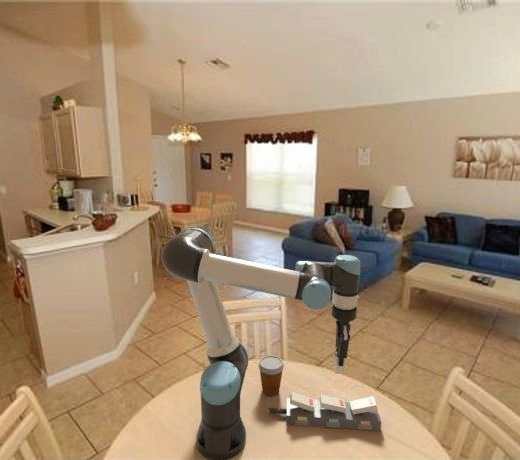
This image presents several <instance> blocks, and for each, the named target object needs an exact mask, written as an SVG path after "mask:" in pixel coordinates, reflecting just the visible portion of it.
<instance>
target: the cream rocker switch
mask: <svg viewBox="0 0 520 460" xmlns="http://www.w3.org/2000/svg"><path fill="white" fill-rule="evenodd" d="M349 402H350V405H351V410H352V413H353V415H354V414H359V413H364V412H369V411H373V410H378V406H377V404H376V400H375V397H374V396H368V397H364V398H363V397H362V398H360V399H359V398H358V399H355V400H350V401H349Z"/></svg>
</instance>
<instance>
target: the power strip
mask: <svg viewBox="0 0 520 460" xmlns="http://www.w3.org/2000/svg"><path fill="white" fill-rule="evenodd" d="M314 404H315V408H314V411H313V412H311V411H309V410H306V409H303V408H300V407H297V406H294V405H291V404H290V397H289V398H288V397H287V398H286V408H276V407H269V409H268V414H276V415H279V414H280V415H286V425H288V426H301V427H317V428H318V427H319V428H330V429H331V428H332V429H347V430H360V431H373V432H374V431H375V432H376V431H377V432H381V431H382V430H381V428H382V419H381V416H380V413H379V411H378V410H373V411H369V412H364V413H359V414H354V415H353V413H352V410H351V405H350V401H345V406H346V410H345V413H343V412H339V411H334V410H330V409H325V408H320V400H319V399H314Z"/></svg>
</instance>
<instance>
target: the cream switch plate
mask: <svg viewBox="0 0 520 460" xmlns="http://www.w3.org/2000/svg"><path fill="white" fill-rule="evenodd" d="M318 400H320V408H325V409H330V410H334V411H339V412H343V413H345V410H346V406H345V402H346V401H345V399H343V398H339V397H333V396H329V395H325V394H319V399H318Z"/></svg>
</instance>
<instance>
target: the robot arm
mask: <svg viewBox="0 0 520 460" xmlns="http://www.w3.org/2000/svg"><path fill="white" fill-rule="evenodd" d="M213 241H214V240H213V239H212V236H211V235H210V234H209V233H208V232H207V231H206V230H204V229H201V228H199V227H189V228H186V229H184V230H181V231H180V232H179V233H178V234H176V235H175V236H174V237H172V238H170V239H168V241H167V242H166V243H165V244H164V246H163V247H162V249H161V257H160V259H161V262H162V265H163V267H164V268H165V270H166V271H167V273H169V274H171V276H173V277H175V278H178V279H181V280H185V281H187V284H188V288H189V290H190V295H192V296H191V297H192V299H193V302H194V305H195V307H196V311H197V314H198V318H199V320H200V323H201V326H202V329H203V333H204V335H205V338H206V341H207V343H208V346H207V347H206V351H205V353H206V356H207V359H208V362H209V365H208V366H207V367H205V368H204V369H203V371H202V373H201V377H200V381H199V392H200V409H201V421H200V424H199V426H198V429H197V432H196V448H197V450H198V452H199V453H200V454H201V455H202V456H203V457H205V458H207V459H208V460H229V459H232V458H234V457H236V456H238V454H240V453H241V452H242V450H243V449H244V447H245V445H246V444H247V432H246V427H245V425H244V422H243V419H242V417H241V393H242V389H243V384H244V380H245V377H246V372H247V370H248V369H247V368H248V366H249V353H248V350H247V349H246V347H245V345H244V344H243V343H241V341H240V339H239V337H237V336H234V334H233V333H234V332H233V330H232V328H231V324H230V321H229V319H228V318H229V317H228V315H227V311H226V308H225V306H224V303H223V300H222V296H221V293H220V289H219V286H218V284H221V285H226V286H230V287H235V288H239V289H240V288H241V289H245V290H250V291H253V292H254V291H255V292H260V293H264V294H268V295H274V296H277V297H284V298H288V299H293V300H297V301H301V302H303V303H304V305H306V307H308V308H310V309H312V310H321V309H324V308H326V307H327V305H329V303H330V302H332V305H331V317H332V318H334V319H335V324H336V325H335V327H336V328H335V344H334V345H335V351H336V353H334V356H335V365H334V372H335V374H339V375H344V374H345V364H346V359H347V358H348V350H349V344H350V340H351V334H350V330H351V324H350V322H352V321H354V320H355V319H357V312H358V311H357V310H358V307H357V306H358V300H359V299H360V295H359V287H360V277H361V276H360V275H361V260H360V259H359V257H357V256H354V255H351V254H339V255H337V256H336V257H335V259H334V261H333V262H332V261H331V262H330V261H329V262H328V261H327V262H326V261H311V260H298V261H296V263H295V267H294V268H295V269H293V270H292V269H288V268H282V267H277V266H273V265H270V264H269V265H268V264H263V263H258V262H253V261H249V260H246V259H245V260H244V259H239V258H234V257H230V256H224V255H220V254H215V253H213V250H214V242H213ZM331 288H333V289H331ZM331 290H332V291H331ZM331 298H332V301H331Z"/></svg>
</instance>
